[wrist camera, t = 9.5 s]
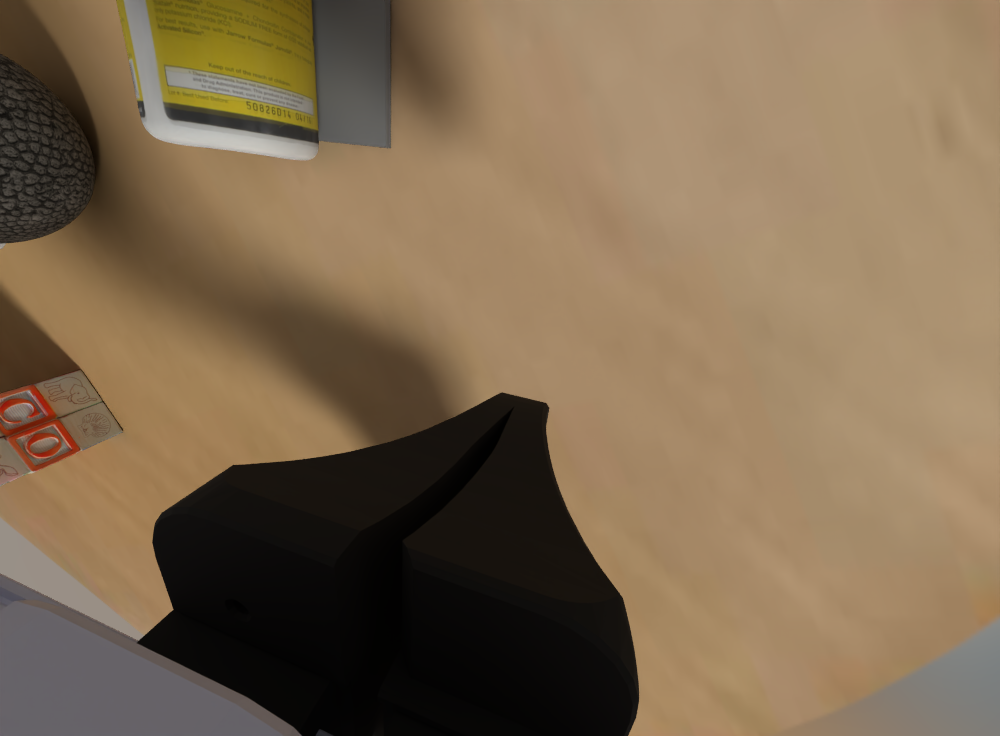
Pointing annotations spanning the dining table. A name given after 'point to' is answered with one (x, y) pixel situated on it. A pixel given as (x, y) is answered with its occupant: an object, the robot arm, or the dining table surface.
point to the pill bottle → (225, 73)
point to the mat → (353, 71)
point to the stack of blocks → (50, 423)
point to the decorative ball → (39, 158)
